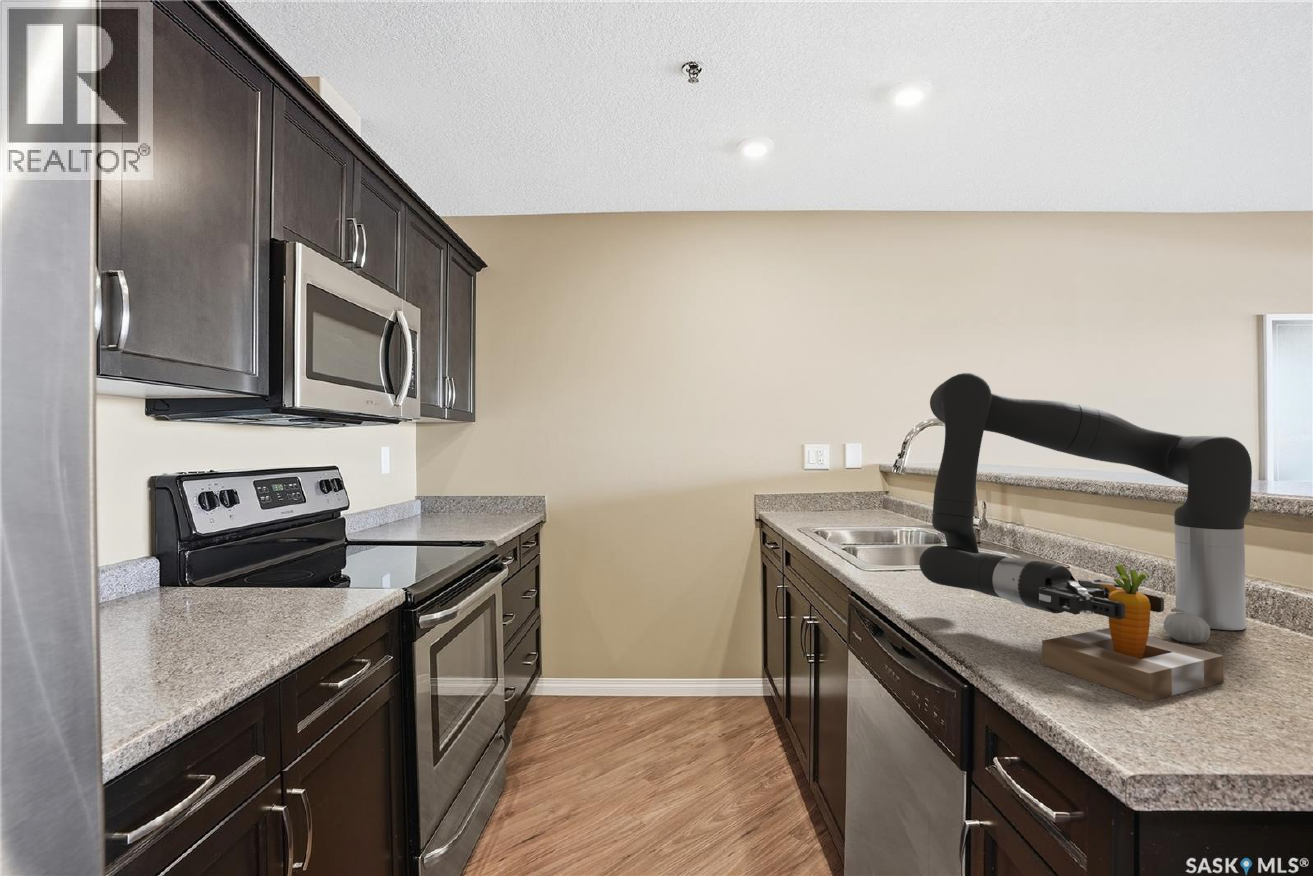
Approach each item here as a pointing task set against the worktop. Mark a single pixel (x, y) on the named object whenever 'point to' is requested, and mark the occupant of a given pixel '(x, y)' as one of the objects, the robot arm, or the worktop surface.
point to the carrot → (1130, 615)
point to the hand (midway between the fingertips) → (1143, 608)
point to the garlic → (1186, 627)
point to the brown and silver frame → (1134, 664)
